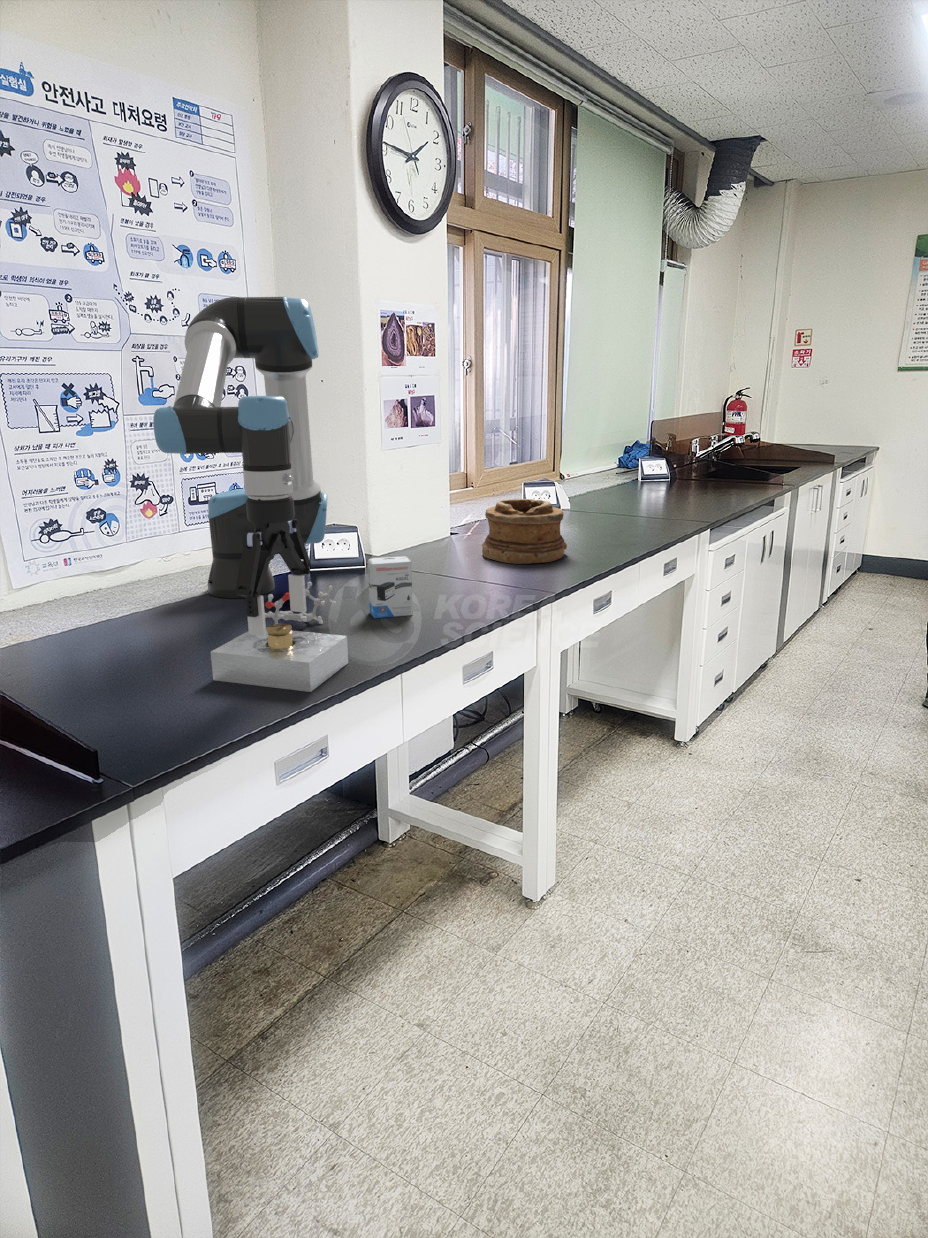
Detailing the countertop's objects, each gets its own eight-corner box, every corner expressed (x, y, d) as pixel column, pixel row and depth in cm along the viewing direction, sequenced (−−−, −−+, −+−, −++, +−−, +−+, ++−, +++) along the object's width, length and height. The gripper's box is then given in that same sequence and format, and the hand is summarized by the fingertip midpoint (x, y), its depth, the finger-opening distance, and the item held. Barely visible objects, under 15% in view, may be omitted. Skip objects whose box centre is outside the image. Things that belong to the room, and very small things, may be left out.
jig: (213, 680, 133) (210, 651, 132) (257, 653, 146) (255, 626, 145) (311, 692, 128) (309, 662, 127) (348, 662, 141) (346, 635, 140)
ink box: (373, 619, 166) (371, 563, 163) (369, 612, 171) (367, 558, 167) (413, 615, 168) (412, 560, 165) (408, 609, 173) (407, 555, 169)
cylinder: (266, 674, 136) (262, 629, 134) (278, 666, 140) (274, 622, 137) (287, 676, 135) (283, 631, 132) (298, 668, 138) (295, 624, 136)
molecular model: (308, 616, 169) (309, 570, 166) (345, 626, 164) (347, 579, 161) (238, 637, 154) (237, 586, 151) (277, 649, 149) (277, 597, 146)
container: (564, 566, 211) (566, 509, 206) (475, 563, 214) (475, 507, 210) (567, 548, 232) (569, 496, 227) (486, 546, 235) (486, 494, 231)
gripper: (248, 509, 116) (259, 648, 122) (326, 486, 139) (332, 604, 145) (203, 507, 118) (216, 643, 124) (287, 484, 141) (295, 600, 147)
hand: (279, 622), depth 135 cm, fingers open, 13 cm apart
